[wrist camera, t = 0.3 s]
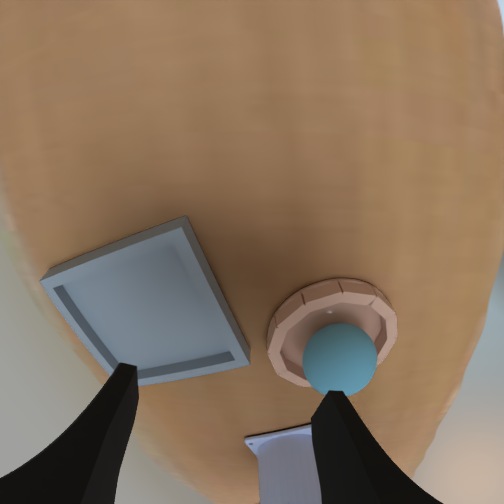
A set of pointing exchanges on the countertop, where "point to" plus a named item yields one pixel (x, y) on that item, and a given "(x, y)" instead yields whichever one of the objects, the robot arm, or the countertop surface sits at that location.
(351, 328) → the ball
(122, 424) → the robot arm
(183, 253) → the tray
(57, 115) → the countertop surface
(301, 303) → the dish
